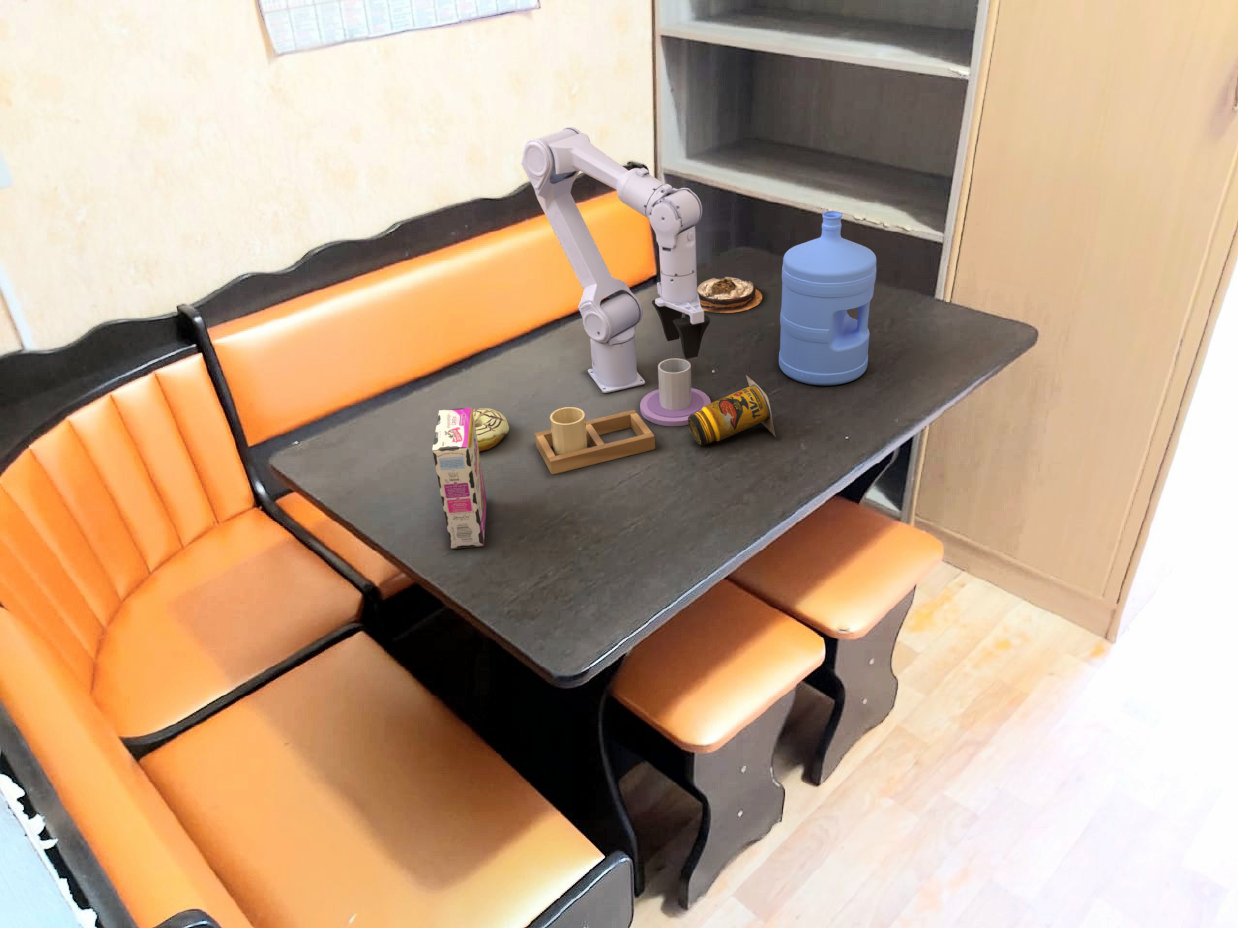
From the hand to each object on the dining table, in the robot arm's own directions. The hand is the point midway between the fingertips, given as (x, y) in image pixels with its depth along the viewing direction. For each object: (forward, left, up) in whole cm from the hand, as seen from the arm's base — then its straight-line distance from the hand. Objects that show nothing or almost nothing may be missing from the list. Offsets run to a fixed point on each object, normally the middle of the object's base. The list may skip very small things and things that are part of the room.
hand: (681, 348), depth 152 cm
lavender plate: (+1, -2, -10) cm, 11 cm away
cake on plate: (-37, +25, -11) cm, 46 cm away
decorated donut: (-4, -36, -11) cm, 37 cm away
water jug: (-1, +27, -11) cm, 29 cm away
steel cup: (+1, -2, -9) cm, 9 cm away
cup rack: (+7, -19, -10) cm, 22 cm away
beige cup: (+7, -23, -10) cm, 26 cm away
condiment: (+13, +8, -6) cm, 17 cm away
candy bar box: (+19, -42, -11) cm, 47 cm away
